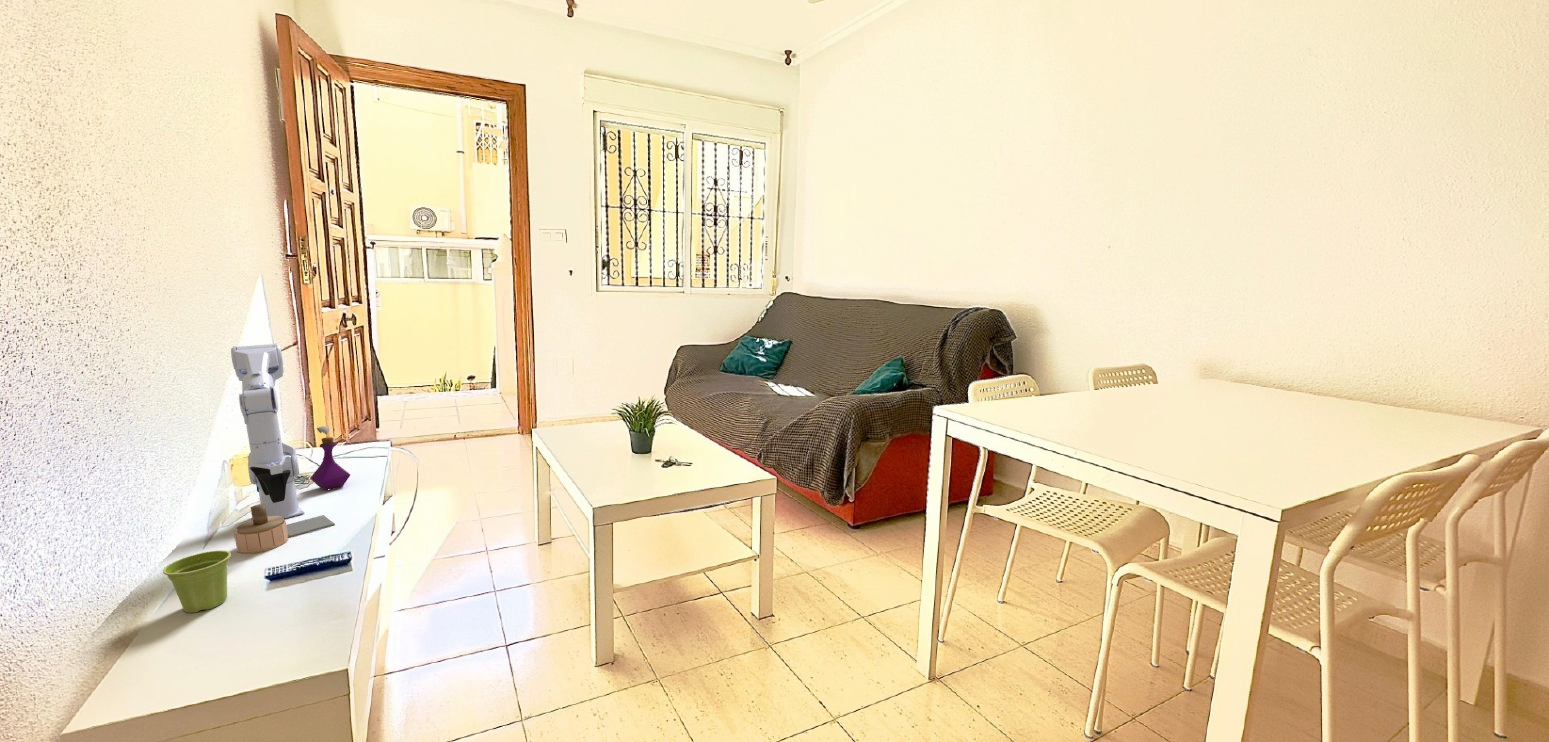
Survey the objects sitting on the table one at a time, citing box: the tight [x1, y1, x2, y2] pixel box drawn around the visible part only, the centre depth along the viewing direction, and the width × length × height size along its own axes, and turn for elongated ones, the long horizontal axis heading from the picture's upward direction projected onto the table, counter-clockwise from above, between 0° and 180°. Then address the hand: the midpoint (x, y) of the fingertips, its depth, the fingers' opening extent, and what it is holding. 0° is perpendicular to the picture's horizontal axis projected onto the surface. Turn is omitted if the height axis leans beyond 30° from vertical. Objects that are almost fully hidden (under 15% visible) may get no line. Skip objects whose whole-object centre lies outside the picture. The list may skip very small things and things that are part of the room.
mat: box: [286, 514, 336, 538], centre depth 156 cm, size 9×9×1 cm
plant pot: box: [162, 549, 232, 614], centre depth 119 cm, size 9×9×9 cm
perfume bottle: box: [309, 425, 351, 491], centre depth 183 cm, size 8×8×18 cm
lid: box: [236, 503, 285, 534], centre depth 145 cm, size 8×8×5 cm
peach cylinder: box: [233, 519, 289, 555], centre depth 145 cm, size 9×9×4 cm
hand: (274, 497), depth 148 cm, fingers open, 7 cm apart
